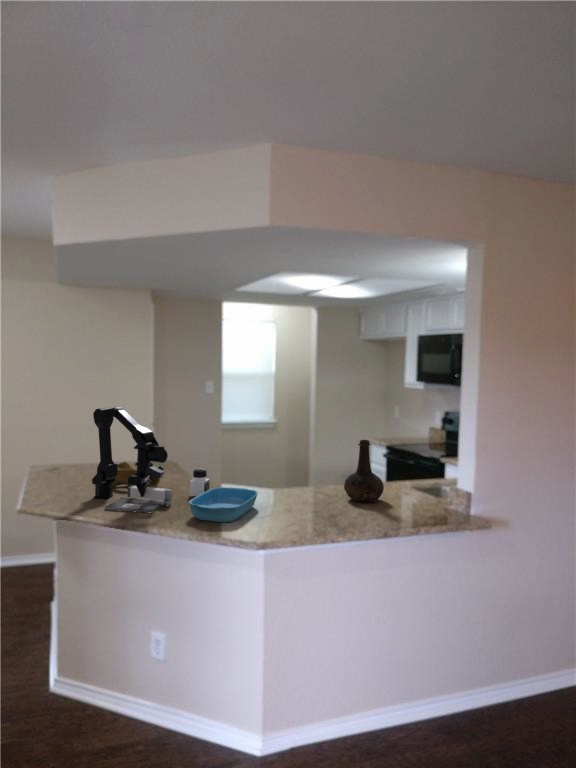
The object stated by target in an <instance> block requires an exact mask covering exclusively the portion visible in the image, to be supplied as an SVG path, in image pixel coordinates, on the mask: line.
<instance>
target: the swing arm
mask: <svg viewBox="0 0 576 768" xmlns="http://www.w3.org/2000/svg"><path fill="white" fill-rule="evenodd" d="M126 498H140V499H153V500H164V501H169V500H171V501H172V500H173V489H169V488H164V487H163V488H162V487H155V488H153V487H147V488H146V491H145V494H144V497H141V495H140V493H139V491H138V488H137V486H135V485H132V486H128V487H127V497H126Z"/></svg>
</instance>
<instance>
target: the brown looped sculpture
mask: <svg viewBox="0 0 576 768" xmlns="http://www.w3.org/2000/svg"><path fill="white" fill-rule="evenodd" d="M117 465H118V466H117V469H118V472H117V476H116V478H115V481H114V482H111V483H112V486H113V488H116V487H118V486H122V485H126V486H128V487H130V486H132V485H135V486H136V484H132V483H127V478H128V477H129V476H132V475H135V472H137V469H134V468H133V467H132V466H131V465H130V464H129V463H128V462H126V461H123V462H119V463H117ZM149 480H152V481H151V482H150V483H149V484H148V486H147V487H153V488H157V486H158V485H159V483H160V480H161V478H160V479H155V478H154V477H152V476H150V477H149Z"/></svg>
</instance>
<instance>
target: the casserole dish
mask: <svg viewBox="0 0 576 768" xmlns="http://www.w3.org/2000/svg"><path fill="white" fill-rule="evenodd" d="M258 495H259V492H258V491H257V490H255V489H248V488H245V487H238V486H237V487H233V486H232V487H231V486H228V487H226V486H225V487H223V486H221V487H213V488H209V490H208V491H206V492H204V493H202V494H200V495H198V496H197V497H193V498H192V499H190V500H189V501H188V504H189V507H190V510H191V513H192V516H194V518H196V519H198V520H201V521H208V522H219V523H231V522H234V521H236V520H237V519H239V518H240V517H242V516H243V515H244V514H246V513H248V511H250V510H251V509H252V508H253V507H254V505H255V503H256V499H257V496H258Z"/></svg>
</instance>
